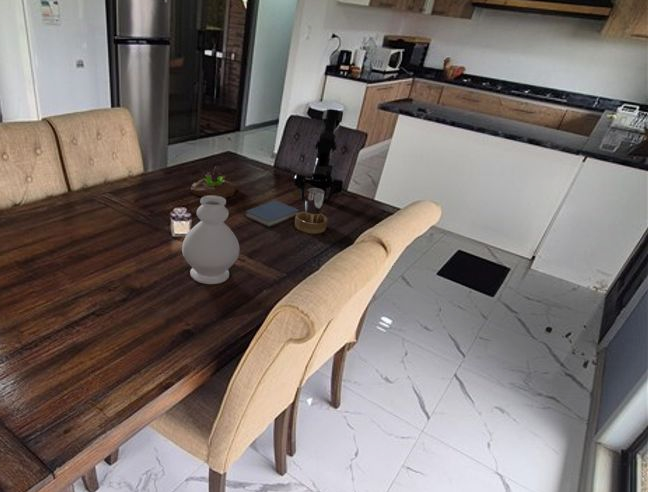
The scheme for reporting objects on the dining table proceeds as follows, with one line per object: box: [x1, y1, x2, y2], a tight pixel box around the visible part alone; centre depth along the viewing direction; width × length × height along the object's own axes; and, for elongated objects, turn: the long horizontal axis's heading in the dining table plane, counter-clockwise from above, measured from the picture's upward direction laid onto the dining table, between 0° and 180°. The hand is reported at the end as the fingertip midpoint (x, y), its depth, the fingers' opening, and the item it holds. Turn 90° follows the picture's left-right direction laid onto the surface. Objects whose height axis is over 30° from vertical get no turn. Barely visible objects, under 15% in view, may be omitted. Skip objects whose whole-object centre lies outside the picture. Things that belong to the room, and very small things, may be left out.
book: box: [244, 200, 300, 228], centre depth 189 cm, size 19×13×2 cm
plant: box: [190, 164, 238, 200], centre depth 206 cm, size 20×20×11 cm
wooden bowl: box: [293, 210, 329, 235], centre depth 182 cm, size 12×12×4 cm
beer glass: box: [304, 187, 325, 223], centre depth 179 cm, size 7×7×15 cm
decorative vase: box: [181, 195, 240, 285], centre depth 140 cm, size 18×18×25 cm
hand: (314, 202), depth 179 cm, fingers open, 9 cm apart
